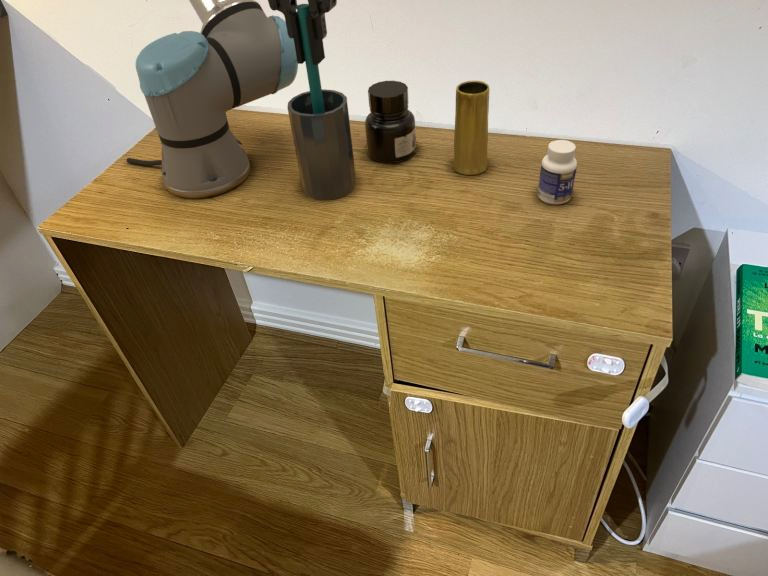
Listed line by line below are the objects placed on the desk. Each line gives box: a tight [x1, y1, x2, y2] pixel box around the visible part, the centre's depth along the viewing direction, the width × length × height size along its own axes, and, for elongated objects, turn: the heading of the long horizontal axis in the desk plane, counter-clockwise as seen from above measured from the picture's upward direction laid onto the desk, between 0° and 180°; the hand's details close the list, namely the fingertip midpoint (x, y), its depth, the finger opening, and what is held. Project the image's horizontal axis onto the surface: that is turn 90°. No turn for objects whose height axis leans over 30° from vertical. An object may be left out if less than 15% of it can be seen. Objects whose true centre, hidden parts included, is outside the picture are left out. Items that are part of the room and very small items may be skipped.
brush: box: [296, 3, 325, 114], centre depth 90 cm, size 4×4×24 cm
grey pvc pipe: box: [287, 88, 357, 201], centre depth 96 cm, size 9×9×15 cm
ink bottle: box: [364, 80, 417, 163], centre depth 104 cm, size 10×9×12 cm
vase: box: [452, 80, 490, 176], centre depth 98 cm, size 6×6×14 cm
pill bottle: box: [537, 139, 578, 205], centre depth 91 cm, size 5×5×9 cm
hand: (311, 60), depth 87 cm, fingers closed on brush, 2 cm apart
